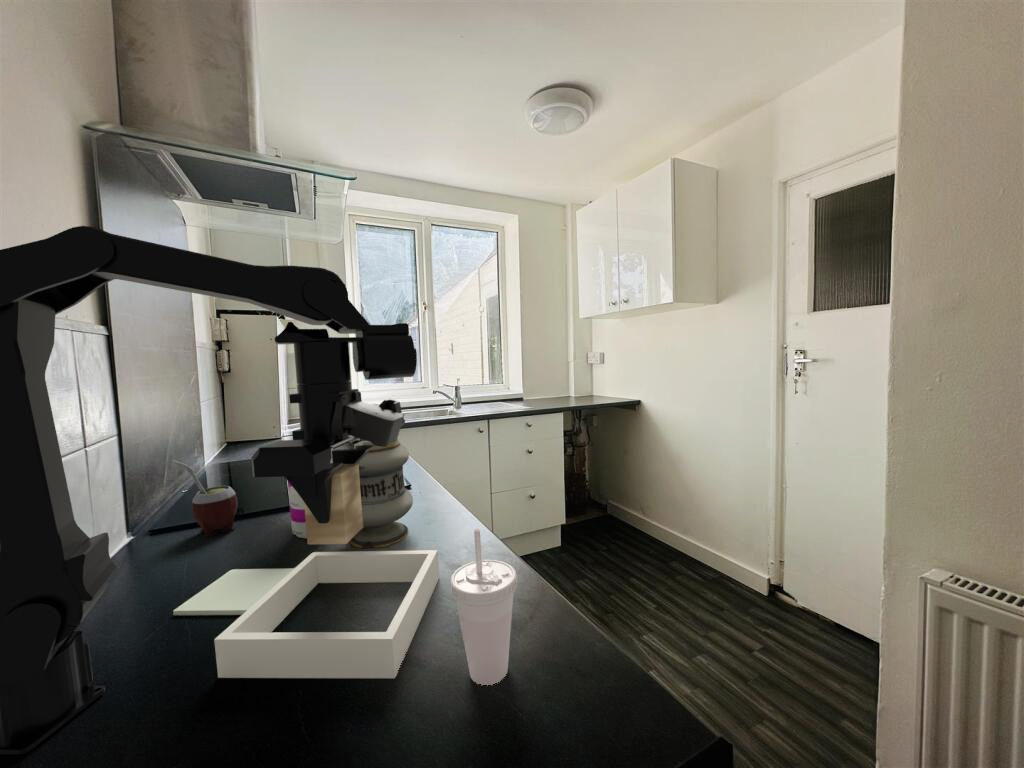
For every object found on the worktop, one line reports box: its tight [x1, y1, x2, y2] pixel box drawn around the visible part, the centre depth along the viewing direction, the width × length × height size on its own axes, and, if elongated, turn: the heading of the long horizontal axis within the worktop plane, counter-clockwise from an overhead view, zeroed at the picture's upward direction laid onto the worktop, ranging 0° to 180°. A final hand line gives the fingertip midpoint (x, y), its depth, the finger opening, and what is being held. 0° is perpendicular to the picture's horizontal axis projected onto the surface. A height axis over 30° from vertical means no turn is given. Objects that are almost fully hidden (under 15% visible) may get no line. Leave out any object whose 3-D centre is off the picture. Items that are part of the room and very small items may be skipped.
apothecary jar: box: [349, 436, 414, 549], centre depth 72 cm, size 12×12×18 cm
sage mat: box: [173, 567, 296, 616], centre depth 57 cm, size 10×10×1 cm
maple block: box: [304, 464, 363, 545], centre depth 49 cm, size 4×4×8 cm
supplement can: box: [287, 481, 307, 539], centre depth 76 cm, size 8×8×15 cm
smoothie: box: [450, 528, 518, 687], centre depth 40 cm, size 6×6×14 cm
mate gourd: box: [170, 459, 239, 539], centre depth 77 cm, size 8×8×15 cm
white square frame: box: [213, 549, 440, 679], centre depth 49 cm, size 18×18×4 cm
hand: (334, 514), depth 49 cm, fingers closed on maple block, 4 cm apart
